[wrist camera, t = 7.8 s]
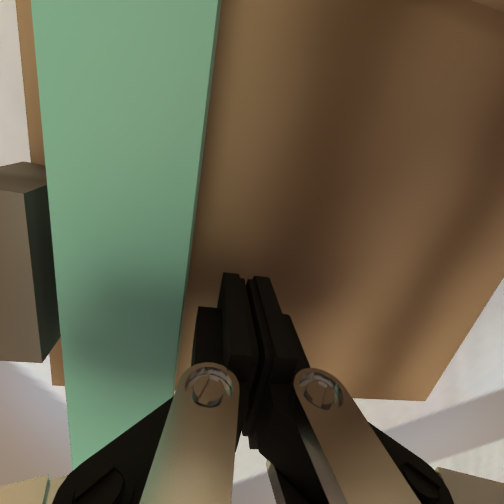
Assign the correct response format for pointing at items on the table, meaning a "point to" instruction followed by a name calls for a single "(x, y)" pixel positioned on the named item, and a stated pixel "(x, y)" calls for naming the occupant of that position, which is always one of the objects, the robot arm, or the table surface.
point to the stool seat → (319, 186)
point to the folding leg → (122, 194)
